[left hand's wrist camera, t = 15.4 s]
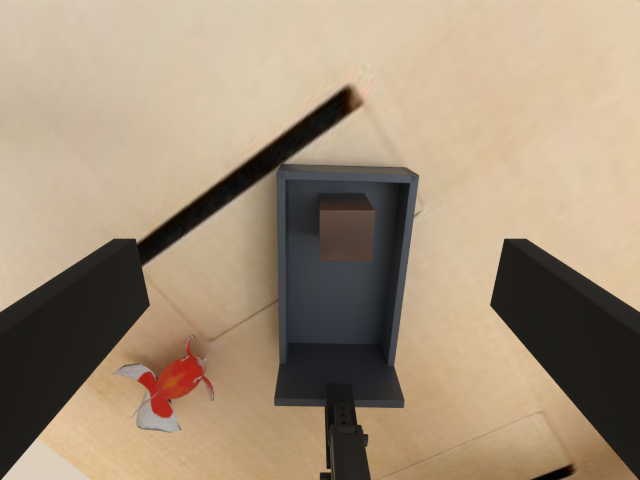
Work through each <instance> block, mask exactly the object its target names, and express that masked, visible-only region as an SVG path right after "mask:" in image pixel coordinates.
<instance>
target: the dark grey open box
mask: <svg viewBox="0 0 640 480" xmlns="http://www.w3.org/2000/svg"><path fill="white" fill-rule="evenodd" d="M418 180H419V175H418V174H416V173H414V172H413V171H411V170H409V169H408V168H398V167H364V166H330V165H296V164H282V165H281V166H280V168H279V169H278V171H277V222H278V291H279V359H280V364H279V371H278V378H277V384H276V391H275V397H274V405H275V406H320V407H326V383H335V384H352V389H353V397H354V404H355V407H379V408H404V397H403V394H402V391H401V388H400V384H399V381H398V378H397V374H396V371H395V368H394V362H395V355H396V347H397V339H398V332H399V324H400V317H401V309H402V301H403V294H404V286H405V279H406V271H407V264H408V256H409V248H410V241H411V233H412V226H413V218H414V210H415V203H416V195H417V188H418ZM319 193H365V195H366V196H367V198H368V200H369V201H370V203H371V205H372V206H373V208H374V210H375V222H374V237H373V252H372V261H320V260H319Z"/></svg>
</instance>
